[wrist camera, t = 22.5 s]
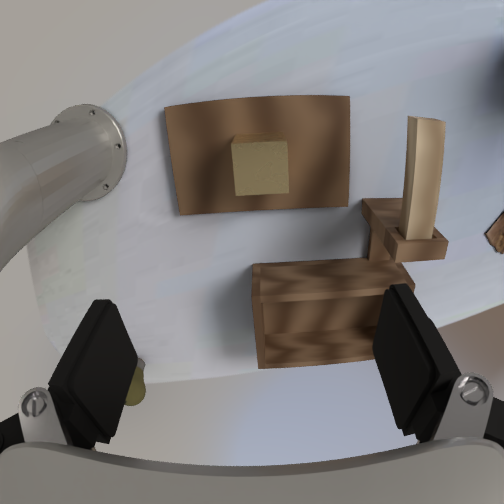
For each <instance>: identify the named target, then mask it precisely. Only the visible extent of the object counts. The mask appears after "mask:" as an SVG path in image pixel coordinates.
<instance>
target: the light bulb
mask: <svg viewBox="0 0 504 504" xmlns="http://www.w3.org/2000/svg"><path fill="white" fill-rule="evenodd" d="M144 367H145V362H144V361H143V360H142V359H140V358H138V363H137V366H136V369H135V372H134V375H133V378H132V382H131V385H130V388H129V391H128V394H127V397H126V400H125V404H124V405H127V406H134V405H137V404H139V403H140V402H141V401H142V400H143V399H144V397H145V392H146V389H145V384H144V379H143V377H144V374H143V371H144Z"/></svg>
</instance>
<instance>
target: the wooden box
mask: <svg viewBox="0 0 504 504" xmlns="http://www.w3.org/2000/svg"><path fill="white" fill-rule="evenodd" d="M402 199H403V198H364V199H362V215H363V216H364V218H365V219H366V221H367V222H368V223H369V225H370V236H369V245H368V254H367V258H351V259H333V260H315V261H297V262H278V263H259V264H253V271H252V296H251V297H252V307H253V318H254V328H255V339H256V349H257V360H258V369H268V368H286V367H287V368H288V367H302V366H303V367H304V366H317V365H328V364H338V363H348V362H356V361H365V360H373V359H375V358H374V355H373V350H372V345H373V340H374V336H375V332H376V328H377V324H378V320H379V315H380V311H381V306H382V301H383V297H384V292H385V290H386V289H389V287H390V285H392V284H402V283H407V284H408V285H409V287H410V289H411V290H412V292H413V293H414V289H415V283H414V281H413V280H412V278H411V277H410V275H409V274H408V272H407V271H406V269H405V268H404V266H403V265H402V263H401V262H413V261H427V260H440V259H445V255H446V251H447V246H448V242H449V241H448V240H447V239H446V238H445V237H444V236H443V235H442V234H441V233H440V232H439V231H438V230H437V229H436V228H435V227H434V228H433V234H432V239H416V240H404V238H403V237H402V236H401V235H400V233H399V232H398V231H399V224H400V216H401V208H402Z"/></svg>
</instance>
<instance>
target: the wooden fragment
mask: <svg viewBox="0 0 504 504" xmlns="http://www.w3.org/2000/svg"><path fill="white" fill-rule="evenodd" d="M485 235H486V236H487V238H488V241H489V243H490V245H492V246H494V247H495V249H496V251H498V252H501V253H502V254H503V253H504V213H503V214H502V215H501V216H500V218H499V219H498V220H497V221H496V222H495V223H494V225H493V226H492V227H491V229H490V230H489V231H488V232H487V233H485Z"/></svg>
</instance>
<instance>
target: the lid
mask: <svg viewBox="0 0 504 504" xmlns="http://www.w3.org/2000/svg"><path fill="white" fill-rule="evenodd" d="M164 109H165V117H166V125H167V133H168V140H169V147H170V155H171V162H172V168H173V175H174V181H175V188H176V194H177V200H178V206H179V212H180V215H192V214H206V213H221V212H237V211H254V210H273V209H294V208H320V207H348V200H349V174H350V96H331V95H290V96H264V97H247V98H235V99H224V100H214V101H205V102H197V103H189V104H182V105H175V106H169V107H164Z"/></svg>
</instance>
